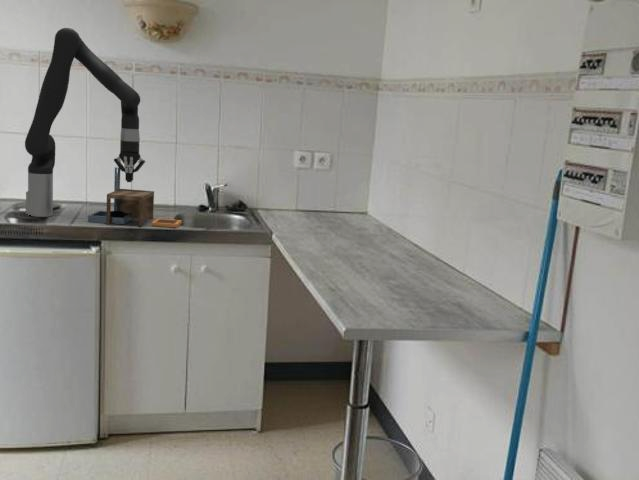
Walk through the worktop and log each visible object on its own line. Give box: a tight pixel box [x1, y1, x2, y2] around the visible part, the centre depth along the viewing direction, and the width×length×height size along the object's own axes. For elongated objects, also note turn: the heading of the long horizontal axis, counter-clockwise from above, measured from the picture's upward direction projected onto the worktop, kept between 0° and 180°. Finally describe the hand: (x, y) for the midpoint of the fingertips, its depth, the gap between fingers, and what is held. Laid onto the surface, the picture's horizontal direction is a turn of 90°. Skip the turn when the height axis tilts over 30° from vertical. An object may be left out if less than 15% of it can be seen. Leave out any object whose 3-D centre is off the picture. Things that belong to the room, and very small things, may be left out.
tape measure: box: [110, 210, 124, 218], centre depth 272 cm, size 7×7×4 cm
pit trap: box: [151, 218, 183, 229], centre depth 273 cm, size 10×11×2 cm
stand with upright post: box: [87, 166, 134, 225], centre depth 271 cm, size 14×16×21 cm
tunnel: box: [105, 188, 155, 228], centre depth 272 cm, size 14×20×12 cm
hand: (129, 181), depth 277 cm, fingers closed
